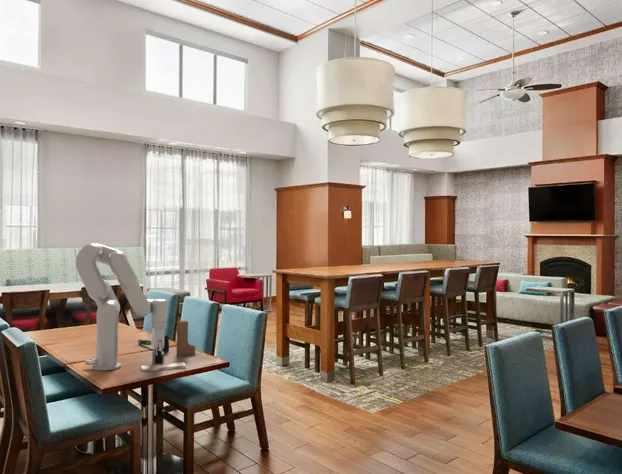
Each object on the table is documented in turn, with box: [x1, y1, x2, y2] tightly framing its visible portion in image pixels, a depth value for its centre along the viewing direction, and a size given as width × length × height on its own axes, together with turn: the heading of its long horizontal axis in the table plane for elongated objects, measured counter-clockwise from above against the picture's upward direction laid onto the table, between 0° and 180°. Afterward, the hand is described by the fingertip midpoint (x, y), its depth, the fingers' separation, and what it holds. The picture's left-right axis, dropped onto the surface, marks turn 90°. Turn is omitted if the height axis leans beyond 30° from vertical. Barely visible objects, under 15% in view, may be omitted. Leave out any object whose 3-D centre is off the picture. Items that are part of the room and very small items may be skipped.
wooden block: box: [176, 320, 196, 357], centre depth 262 cm, size 9×4×18 cm, turn 127°
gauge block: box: [151, 351, 165, 365], centre depth 238 cm, size 5×4×6 cm
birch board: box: [140, 362, 187, 372], centre depth 233 cm, size 20×6×1 cm, turn 115°
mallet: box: [137, 334, 170, 354], centre depth 273 cm, size 29×6×10 cm, turn 48°
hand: (158, 361), depth 238 cm, fingers closed on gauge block, 4 cm apart
